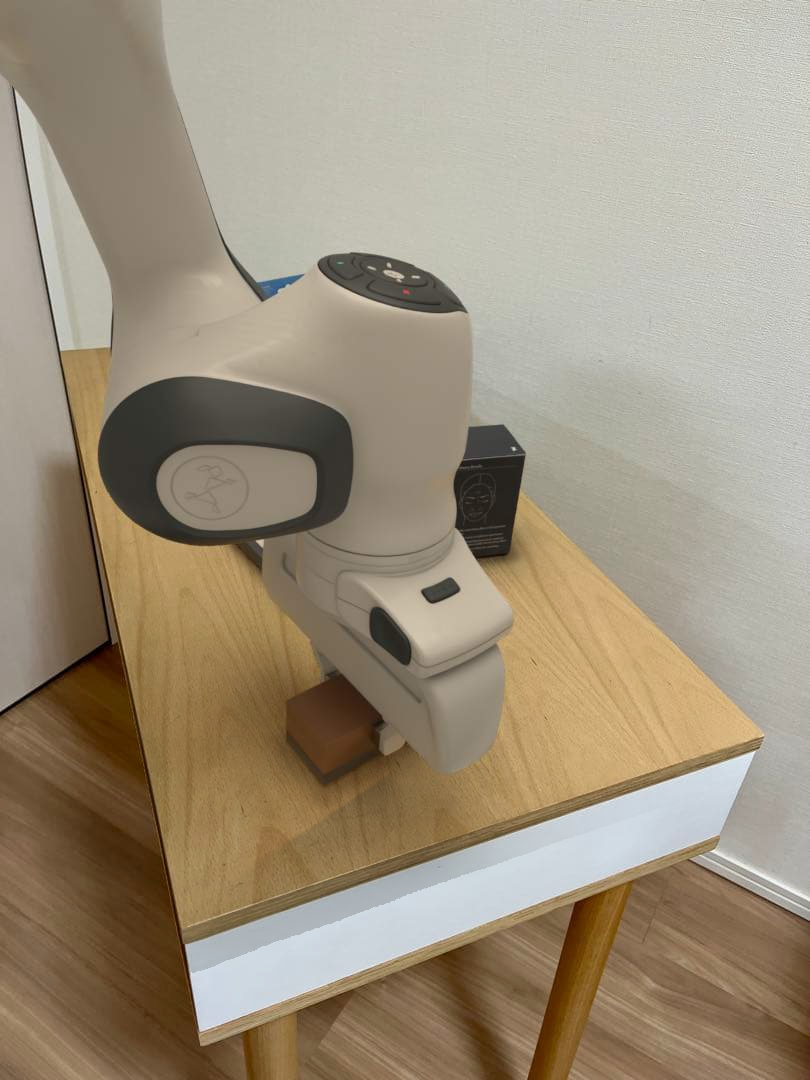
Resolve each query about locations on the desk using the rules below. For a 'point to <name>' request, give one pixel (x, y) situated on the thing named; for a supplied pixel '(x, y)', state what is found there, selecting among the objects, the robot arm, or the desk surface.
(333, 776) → the eraser
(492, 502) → the box
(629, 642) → the desk surface
